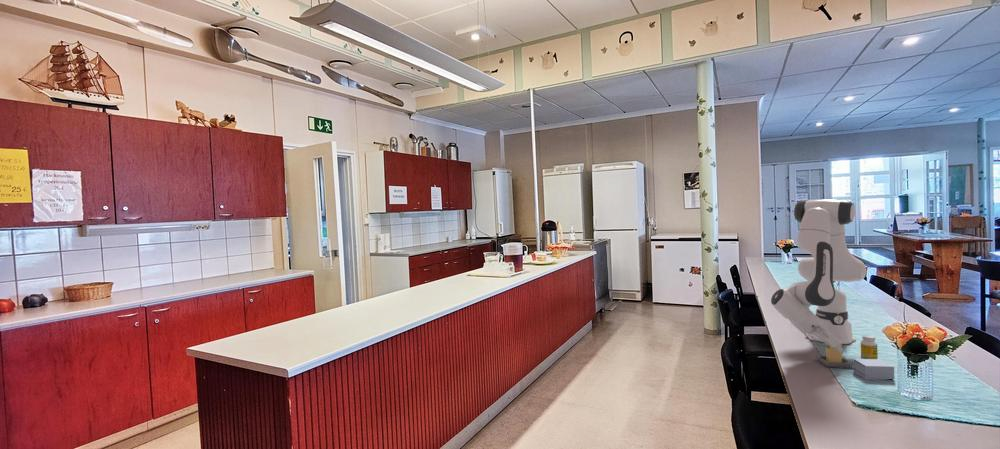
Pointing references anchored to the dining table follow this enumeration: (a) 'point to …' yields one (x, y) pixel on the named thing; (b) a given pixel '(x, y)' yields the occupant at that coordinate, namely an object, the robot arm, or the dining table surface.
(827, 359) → the stub
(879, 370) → the block
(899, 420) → the dining table surface
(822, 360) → the dish
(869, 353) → the supplement bottle
